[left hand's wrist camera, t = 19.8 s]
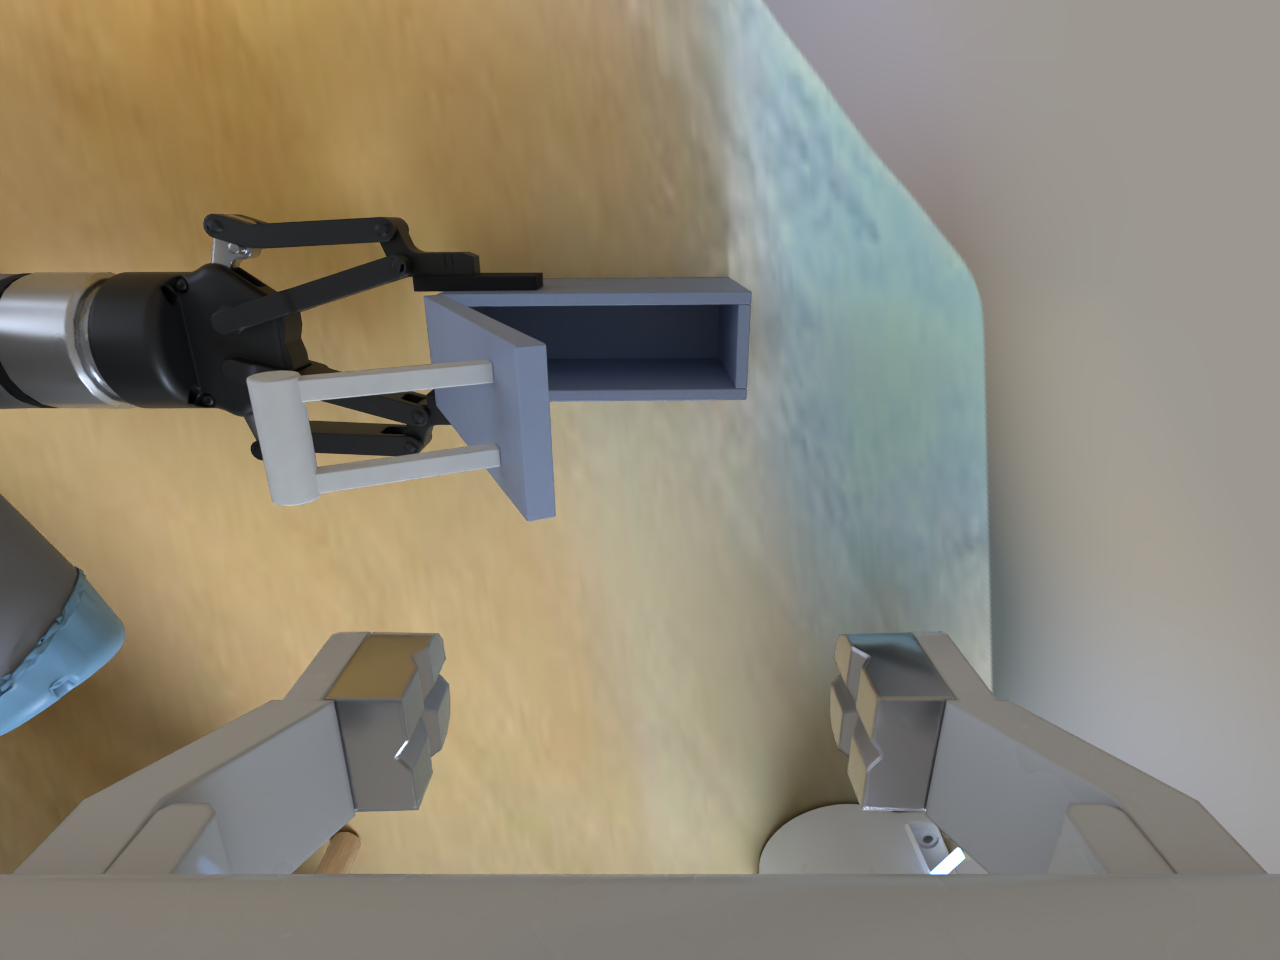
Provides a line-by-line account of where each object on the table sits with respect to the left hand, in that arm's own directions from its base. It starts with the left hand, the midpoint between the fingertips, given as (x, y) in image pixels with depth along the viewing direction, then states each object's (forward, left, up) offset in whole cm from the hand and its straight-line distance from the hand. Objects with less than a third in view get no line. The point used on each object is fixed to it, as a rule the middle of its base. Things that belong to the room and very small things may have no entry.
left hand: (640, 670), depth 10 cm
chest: (+1, +2, -37) cm, 37 cm away
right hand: (+3, +4, -30) cm, 31 cm away
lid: (+4, +5, -20) cm, 21 cm away
